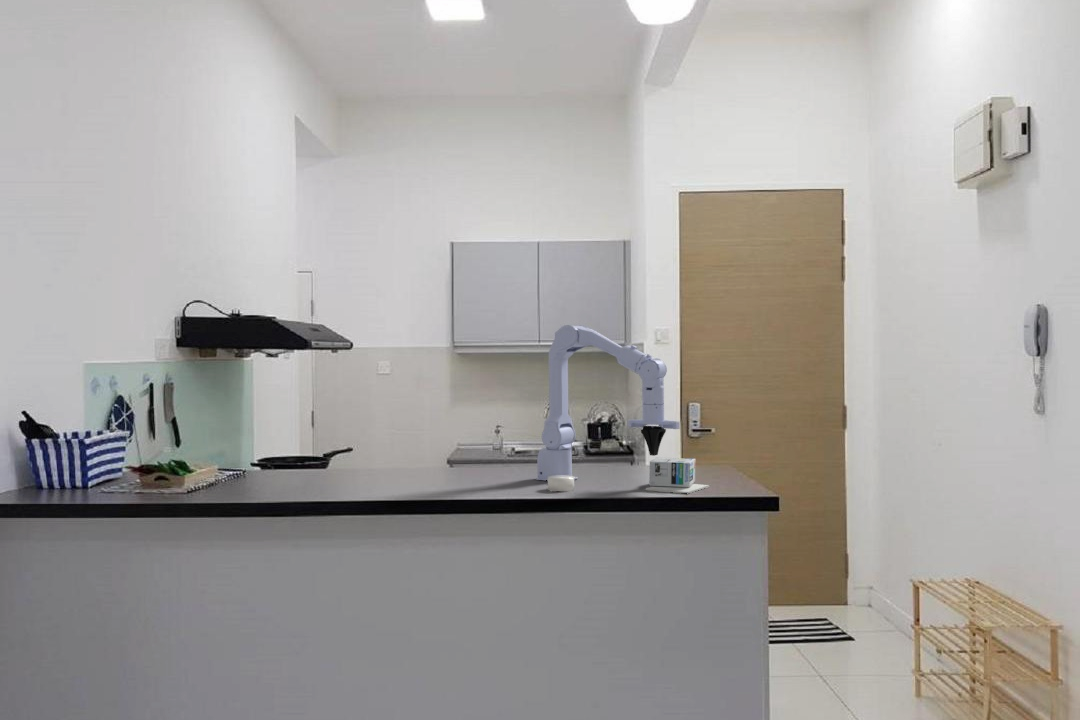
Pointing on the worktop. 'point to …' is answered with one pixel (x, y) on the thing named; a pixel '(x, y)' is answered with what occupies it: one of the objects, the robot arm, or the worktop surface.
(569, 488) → the pale rounded bar
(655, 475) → the light bulb box
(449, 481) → the worktop surface
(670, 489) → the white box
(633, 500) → the worktop surface
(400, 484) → the worktop surface
